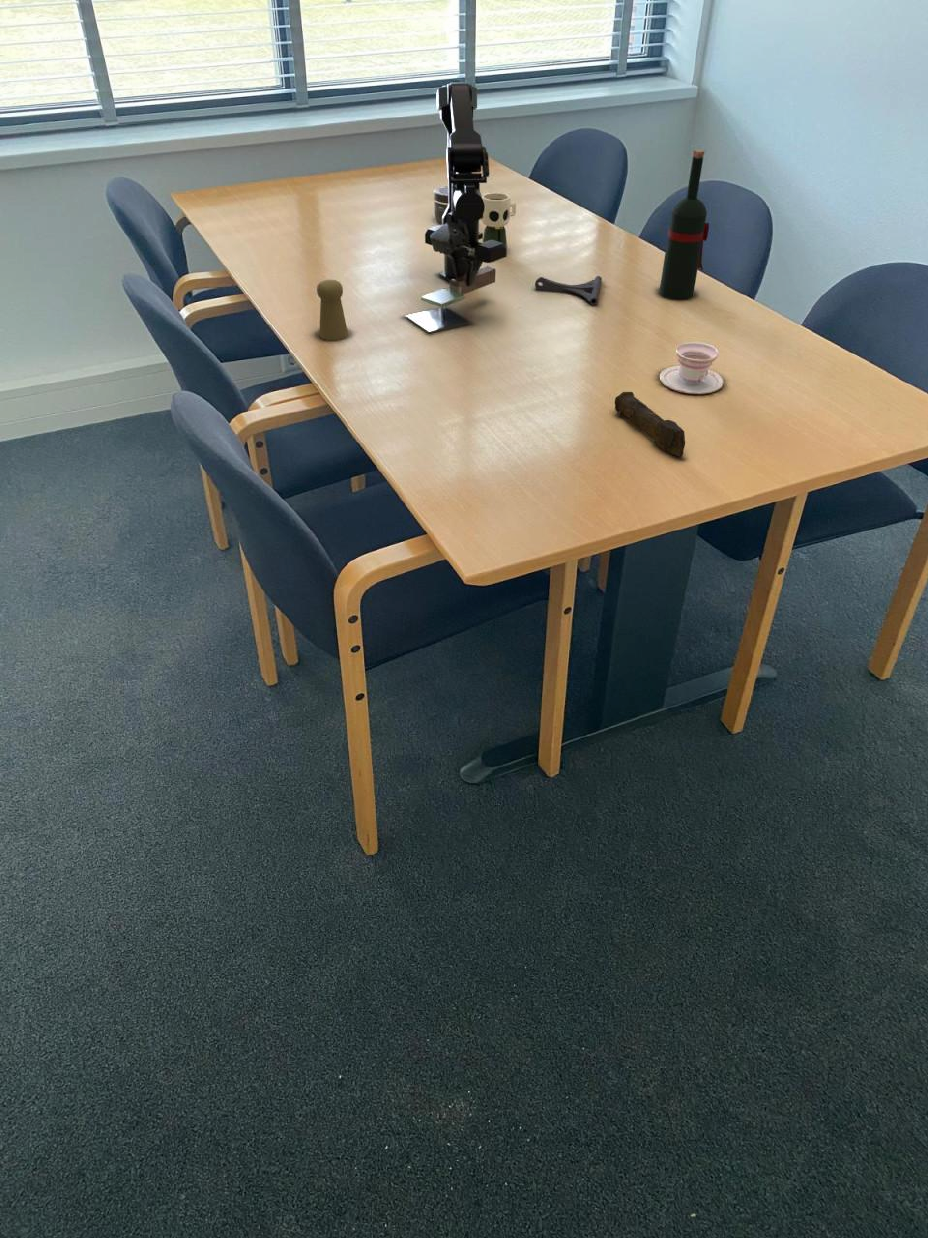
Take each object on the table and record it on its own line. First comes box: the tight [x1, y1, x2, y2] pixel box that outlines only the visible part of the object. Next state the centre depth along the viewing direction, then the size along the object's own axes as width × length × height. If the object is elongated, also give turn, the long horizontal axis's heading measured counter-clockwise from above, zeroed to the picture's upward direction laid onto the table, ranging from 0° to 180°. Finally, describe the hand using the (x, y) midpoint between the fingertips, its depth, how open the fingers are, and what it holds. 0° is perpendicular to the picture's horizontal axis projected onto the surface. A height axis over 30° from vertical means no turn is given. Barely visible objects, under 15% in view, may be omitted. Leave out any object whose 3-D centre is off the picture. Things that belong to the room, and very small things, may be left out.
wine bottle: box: [658, 149, 710, 301], centre depth 202 cm, size 8×10×30 cm
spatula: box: [420, 265, 497, 308], centre depth 197 cm, size 19×6×3 cm, turn 137°
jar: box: [433, 185, 448, 225], centre depth 249 cm, size 10×10×8 cm
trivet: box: [405, 306, 470, 334], centre depth 197 cm, size 10×10×1 cm
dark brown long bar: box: [614, 391, 686, 458], centre depth 158 cm, size 19×4×5 cm, turn 21°
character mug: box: [479, 192, 517, 249], centre depth 228 cm, size 11×7×13 cm, turn 111°
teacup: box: [659, 341, 724, 395], centre depth 173 cm, size 12×12×6 cm
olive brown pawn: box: [316, 279, 349, 341], centre depth 187 cm, size 6×6×11 cm
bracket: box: [534, 275, 603, 306], centre depth 210 cm, size 14×15×3 cm
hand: (464, 284), depth 198 cm, fingers closed on spatula, 2 cm apart
